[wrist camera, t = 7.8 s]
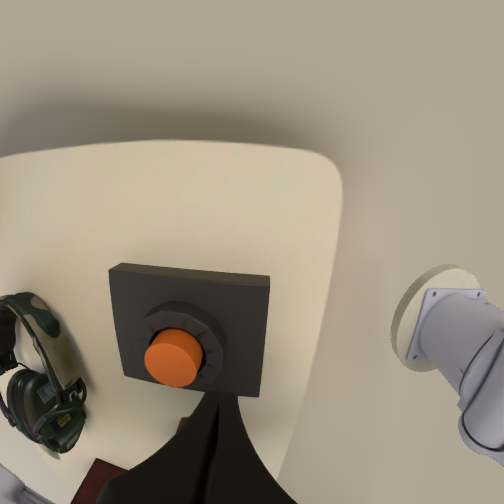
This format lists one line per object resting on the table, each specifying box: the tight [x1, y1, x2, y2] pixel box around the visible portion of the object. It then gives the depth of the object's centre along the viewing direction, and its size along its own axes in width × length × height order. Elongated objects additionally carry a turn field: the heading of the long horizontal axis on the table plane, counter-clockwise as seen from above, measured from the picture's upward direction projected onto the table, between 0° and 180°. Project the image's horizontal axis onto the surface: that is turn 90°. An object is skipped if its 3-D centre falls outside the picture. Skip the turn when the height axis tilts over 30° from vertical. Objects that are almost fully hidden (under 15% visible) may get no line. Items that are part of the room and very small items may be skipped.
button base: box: [108, 263, 270, 397], centre depth 19 cm, size 12×10×4 cm
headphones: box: [0, 292, 87, 454], centre depth 20 cm, size 13×13×20 cm
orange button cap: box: [144, 329, 203, 387], centre depth 17 cm, size 4×4×2 cm
